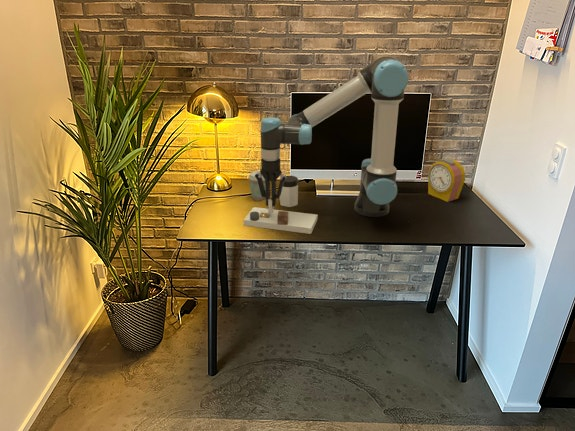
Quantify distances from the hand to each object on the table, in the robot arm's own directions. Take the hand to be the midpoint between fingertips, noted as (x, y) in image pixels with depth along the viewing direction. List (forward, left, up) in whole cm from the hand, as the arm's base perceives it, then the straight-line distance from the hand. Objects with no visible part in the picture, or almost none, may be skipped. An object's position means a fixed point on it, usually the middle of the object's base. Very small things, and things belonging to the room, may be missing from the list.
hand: (271, 212), depth 188 cm
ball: (+3, 0, -2) cm, 4 cm away
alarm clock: (-70, -48, -4) cm, 85 cm away
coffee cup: (+13, -22, -4) cm, 26 cm away
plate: (-4, 0, -4) cm, 6 cm away
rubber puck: (+6, +4, -2) cm, 7 cm away
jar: (-2, -20, -4) cm, 21 cm away
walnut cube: (-6, +4, -2) cm, 8 cm away
